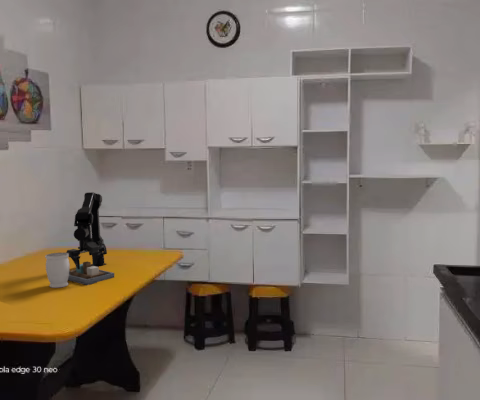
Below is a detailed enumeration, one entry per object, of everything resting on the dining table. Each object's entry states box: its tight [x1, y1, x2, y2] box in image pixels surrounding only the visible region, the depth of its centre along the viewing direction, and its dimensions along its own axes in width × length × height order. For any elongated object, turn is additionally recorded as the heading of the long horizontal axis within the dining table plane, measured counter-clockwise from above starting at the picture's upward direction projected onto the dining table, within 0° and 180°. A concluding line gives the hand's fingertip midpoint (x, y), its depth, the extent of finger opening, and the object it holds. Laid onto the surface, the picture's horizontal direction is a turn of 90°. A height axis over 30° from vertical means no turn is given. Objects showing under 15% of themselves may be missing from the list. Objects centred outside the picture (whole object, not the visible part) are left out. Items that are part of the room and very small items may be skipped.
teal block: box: [75, 263, 83, 274], centre depth 250 cm, size 4×4×4 cm
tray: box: [67, 269, 115, 286], centre depth 248 cm, size 23×16×2 cm
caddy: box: [69, 261, 105, 279], centre depth 247 cm, size 18×8×7 cm, turn 52°
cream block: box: [87, 266, 100, 276], centre depth 245 cm, size 4×4×4 cm
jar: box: [44, 252, 71, 289], centre depth 234 cm, size 11×10×15 cm
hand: (86, 267), depth 247 cm, fingers open, 9 cm apart
